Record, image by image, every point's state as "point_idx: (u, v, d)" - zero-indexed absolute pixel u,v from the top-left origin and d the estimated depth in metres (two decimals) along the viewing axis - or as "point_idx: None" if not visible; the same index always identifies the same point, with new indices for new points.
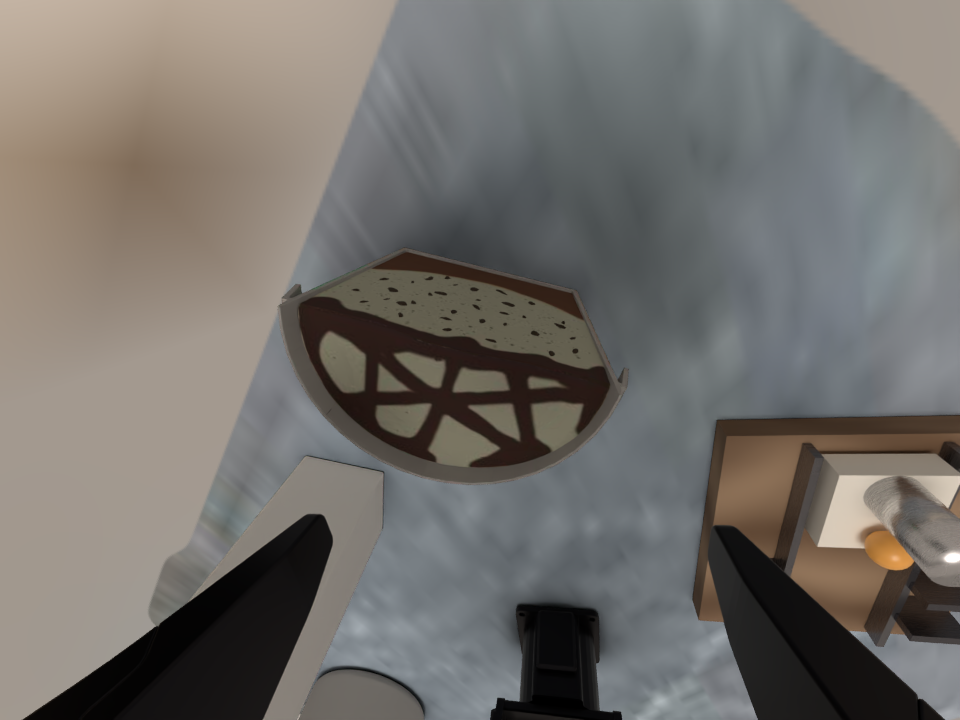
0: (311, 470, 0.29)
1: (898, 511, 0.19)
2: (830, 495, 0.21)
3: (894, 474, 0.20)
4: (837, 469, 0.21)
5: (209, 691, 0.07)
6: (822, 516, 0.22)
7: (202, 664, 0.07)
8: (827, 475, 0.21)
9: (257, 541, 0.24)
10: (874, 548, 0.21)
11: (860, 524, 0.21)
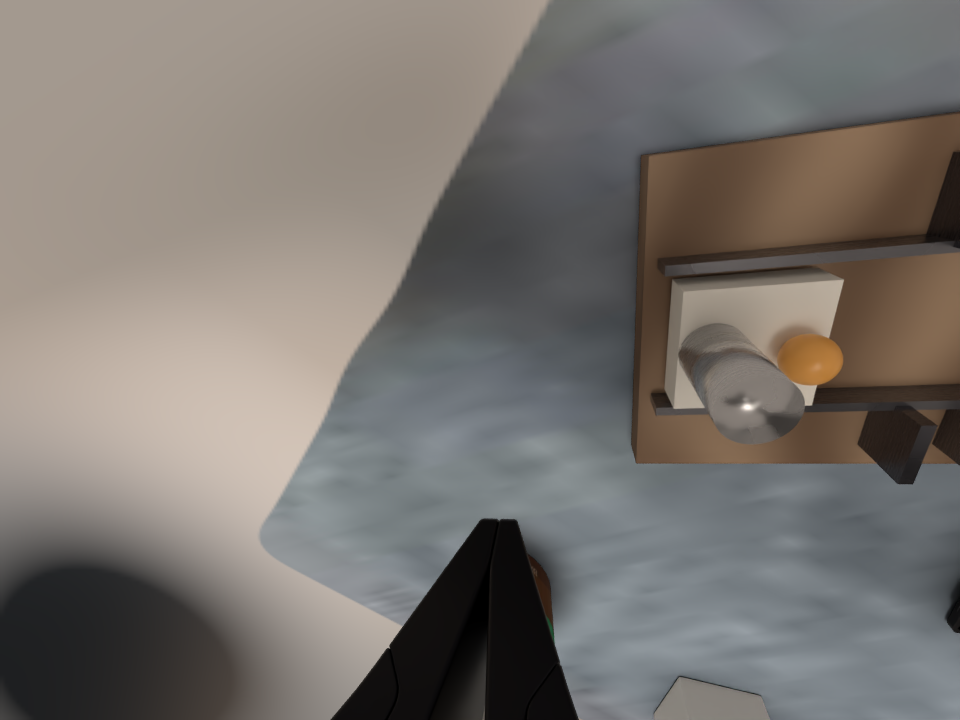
0: None
1: None
2: None
3: (677, 356, 0.16)
4: (671, 400, 0.17)
5: None
6: None
7: (450, 693, 0.06)
8: None
9: None
10: (797, 383, 0.15)
11: None
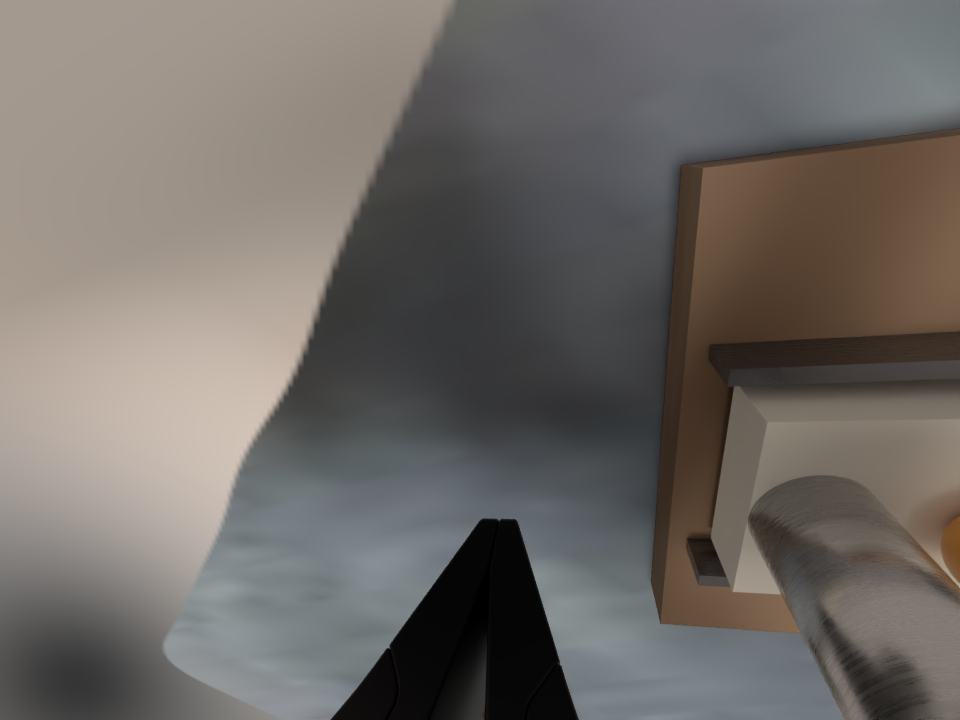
0: None
1: None
2: None
3: (746, 518, 0.09)
4: (727, 573, 0.10)
5: None
6: None
7: (451, 692, 0.06)
8: None
9: None
10: None
11: None
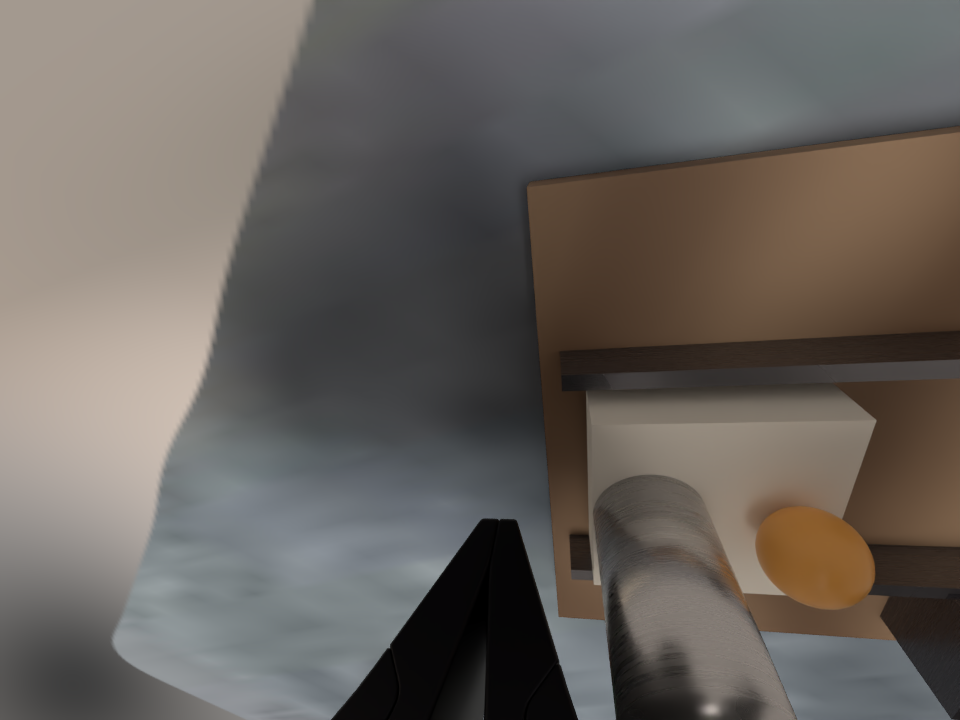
0: None
1: None
2: None
3: (593, 515, 0.10)
4: (592, 567, 0.11)
5: None
6: None
7: (451, 693, 0.06)
8: None
9: None
10: None
11: (742, 546, 0.09)
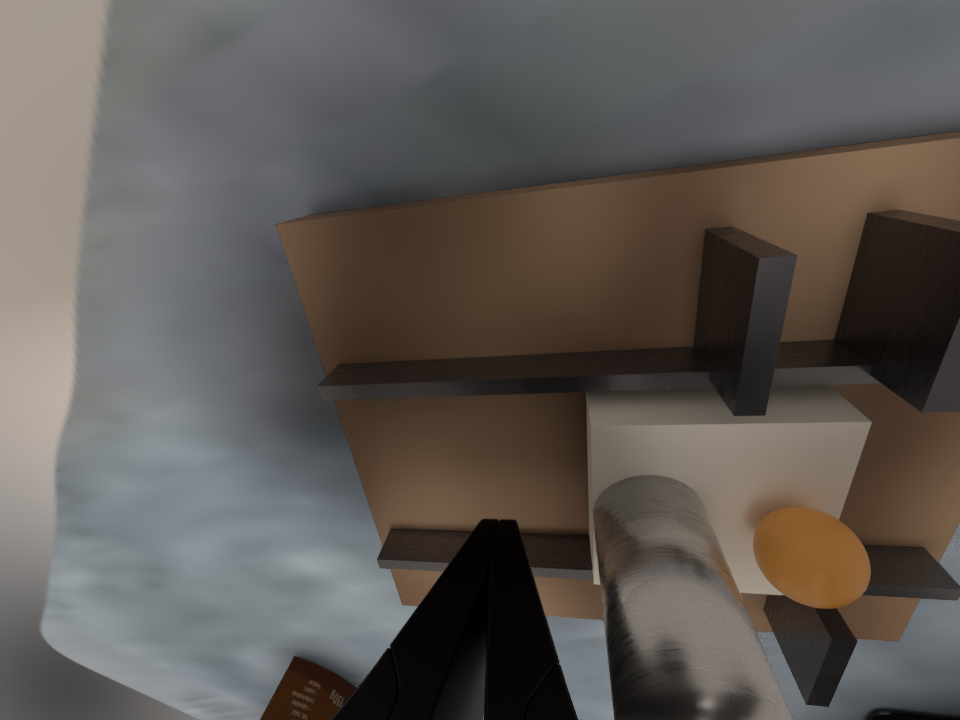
0: None
1: None
2: None
3: (593, 515, 0.10)
4: (592, 567, 0.11)
5: None
6: None
7: (451, 692, 0.06)
8: None
9: None
10: None
11: (741, 546, 0.09)
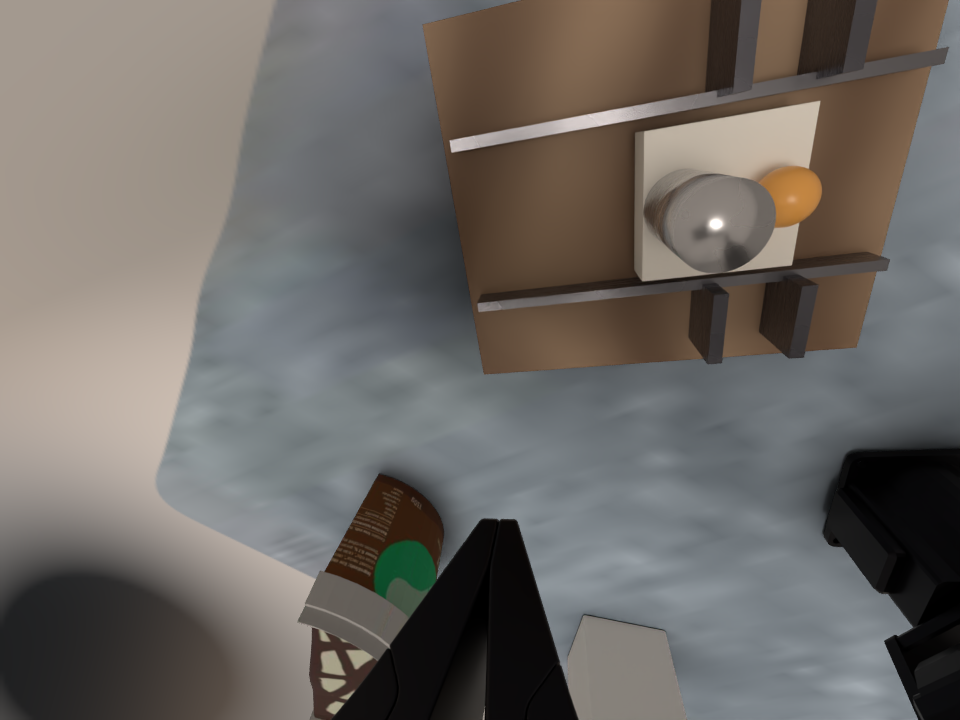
0: (570, 667, 0.32)
1: None
2: (682, 275, 0.15)
3: (643, 216, 0.15)
4: (639, 275, 0.16)
5: None
6: None
7: (450, 693, 0.06)
8: None
9: None
10: None
11: None
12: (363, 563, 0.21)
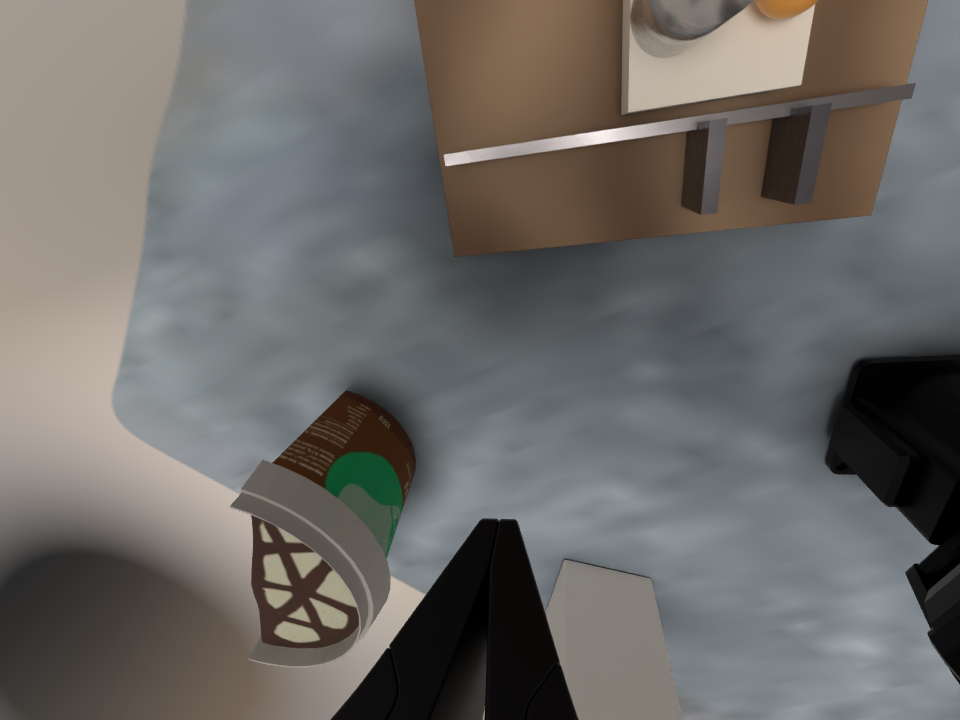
0: (549, 618, 0.29)
1: (660, 40, 0.11)
2: (674, 105, 0.13)
3: (630, 24, 0.13)
4: (626, 108, 0.14)
5: None
6: (726, 97, 0.13)
7: (450, 692, 0.06)
8: (645, 110, 0.14)
9: None
10: (780, 14, 0.11)
11: (745, 31, 0.12)
12: (316, 464, 0.19)
